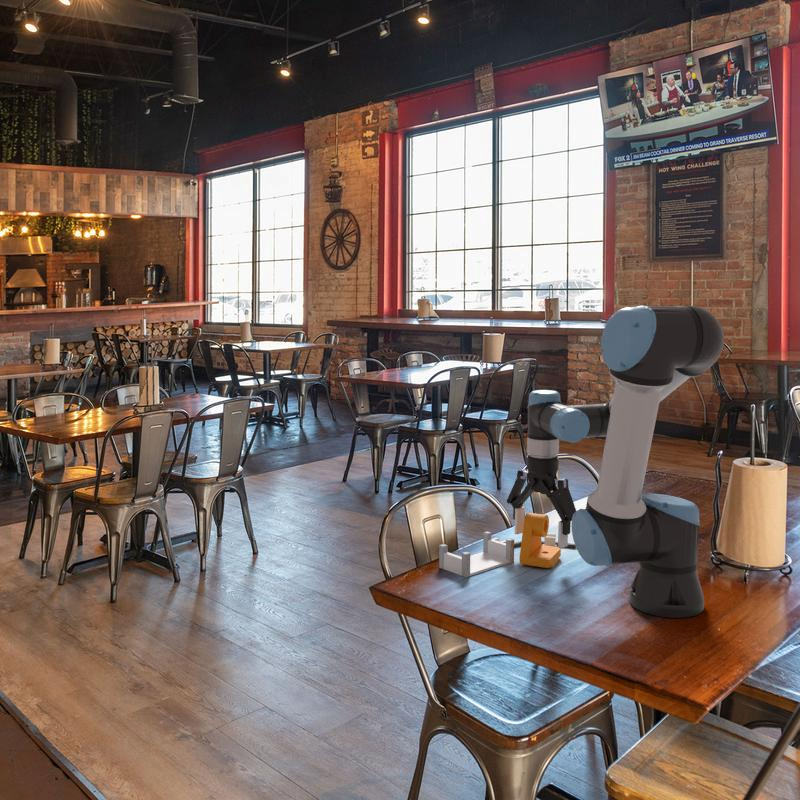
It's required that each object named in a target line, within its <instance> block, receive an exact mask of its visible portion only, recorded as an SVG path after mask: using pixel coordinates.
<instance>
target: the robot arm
mask: <svg viewBox="0 0 800 800" xmlns="http://www.w3.org/2000/svg"><path fill="white" fill-rule="evenodd" d="M600 340H601V341H600V342H601V343H600V349H601V350H602V353H601V356H602V360H603V362H604V364H605V365H606V366H607V368H608V369H609V375H610V377H611V378H613V380H614V381H615V385H614V391H613V397H612V398H611V399H610V400H608V402H606V403H593V404H576V405H573V404H572V405H566V404H562V400H561V393H560V392H559V391H557V390H551V389H549V390H548V389H537V390H532V391H531V392H530V393H528V404H527V438H526V439H527V440H526V442H527V443H526V453H527V455H526V468H523V469H519V470H517V474H516V479H515V481H514V484H513V485H512V488H511V490H510V492H509V494H508V497H507V499H506V503H507V504H508V505H511V506H512V513H513V514H512V518H513V520H514V535H519V534H523V526H524V520H525V510H526V508H525V506H524V504H525V502H527V500H528V499H529V498H530V496H532V494H533V493H540V494H541V495H545V496H546V497H547V498H548V499H549V500H550V502H551V503H552V505H553V507H554V509H555V511H556V513H557V515H558V516H559V518H560V520H559V521H558V526H557V527H558V530H557V531H558V535H557V542H558V546H557V547H558V548H560V549H563V548H566V546H568V542H569V535H570V534H571V533H572V534H571V535H572V538H573V542H574V543H573V544H575V546H576V548H575V549H576V550H577V553H578V555H579V556H580V557H581V558H582V560H583V561H584V562H585V563H586V564H588V565H590V566H592V567H593V566H594V567H599V566H601V567H602V566H603V567H604V566H606V567H610V566H613V565H621V564H630V563H638V568H637V571H636V574H635V575H634V578H633V581H632V583H631V586H630V587H629V596H628V597H629V599H628V600H629V603H630V605H631V606H632V607H633V608H635V609H636V610H638V611H641V612H642V613H645V614H649V615H652V616H656V617H663V618H671V619H672V618H673V619H678V618H679V619H682V618H683V619H684V618H690V617H695V616H698V615H700V614H701V613H703V611H704V610H705V596H704V592H703V589H702V586H701V583H700V579H699V575H698V556H699V555H698V554H699V551H698V550H699V534H700V532H699V531H700V530H699V529H700V526H701V523H700V510H699V507H698V506H697V505H696V504H695V503H694V502H693V501H690V500H688V499H685V498H682V497H678V496H674V495H673V496H672V495H668V494H661V493H660V494H659V493H646V494H643V495H642V493H643V487H644V482H645V478H646V477H645V476H646V471H647V467H648V463H649V456H650V453H651V447H652V443H653V441H652V440H653V437H654V431H655V427H656V421H657V417H658V412H659V407H660V406H659V405H660V403H661V402H662V401H663V400H664V399H666V398H667V397H668V396H669V395H670V394H672V392H674V391H676V389H677V388H679V387H680V386H682V384H684V383H685V382H686V381H688V380H689V379H690V378H696V377H699V376H701V375H703V374H704V373H705V372H706V371H708V370H709V369H710V368H711V367H712V366H713V365H714V364H715V363H716V362H717V361H718V359H719V358H720V356H721V354H722V352H723V350H724V343H725V335H724V330H723V327H722V325H721V323H720V322H719V320H718V319H717V318H716V316H715V315H714V314H712V313H711V312H710V311H708V310H706V308H702V307H700V306H696V305H667V306H666V305H665V306H664V305H663V306H660V305H659V306H657V305H656V306H654V305H651V306H650V305H648V306H647V305H638V306H637V305H636V306H630V307H629V306H628V307H624V308H623V307H622V308H620V309H619V310H617V311H616V312H615V313H614V314H612V315H611V316H610V317H609V319H608V320H607V322H606V324H605V325H604V328H603V331H602V335H601V339H600ZM601 437H605V443H604V447H603V454H602V460H601V464H600V469H599V475H598V481H597V487H596V489H595V490H593V491H591V492H590V493H589V494H588V495H587V501H586V505H585V506H586V507H585V509H584V508H579V509H578V510H577V508H576V506H575V503H574V500H573V497H572V494H571V492H570V487H569V479H568V478H566V477H565V478H562V479H561V478H558V475H557V474H558V471H559V464H560V463H559V462H560V461H559V459H560V457H559V456H558V454H559V453H560V451H559V450H560V441H562V442H568V443H578V442H580V441H582V440H583V439H587V438H588V439H589V438H601ZM527 480H528V483H527V484H526V481H527ZM525 484H526V486H525ZM524 486H525V487H524ZM523 488H524V489H523ZM522 490H523V491H522Z"/></svg>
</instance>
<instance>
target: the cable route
mask: <svg viewBox="0 0 800 800" xmlns="http://www.w3.org/2000/svg"><path fill="white" fill-rule="evenodd" d="M556 534H557V533H550V532H548V533H547V535H546V537H543V538H544V540H541V541H542V545H547V546H554V547H558V540H556V538H557V537H556V536H557V535H556ZM492 539H493V540H496V541H500V537H495V538H492ZM521 541H522V540H521ZM521 541H514V548H517V547H521ZM500 542H503V543H506V539H505V540H502V541H500ZM565 548H568V549H577V548H576V546H575V543H568V546H566V547H565Z"/></svg>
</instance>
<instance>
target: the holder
mask: <svg viewBox="0 0 800 800" xmlns="http://www.w3.org/2000/svg"><path fill="white" fill-rule="evenodd" d="M482 536H483V537H482V539H483V542H482V543H483V544H482V546H483V547H482V548H483V551H480V552H478V553H475V554H472V555H471V552H469V551H463V552H461V556H460V555H458V554H454V553H452V552H449V551H448V548H449V547H448V545H447V544H444V543H443V544H438V545H439V546H438V549H439V550H438V555H439V557H438V559H439V561H438V563H439V564H438V567H439V568H440V569H442V570H445V571H447V572H450V573H454V574H455V575H458V576H460V577H463V578H468V577H472V576H476V575H478V574H481V573H484V572H486V571H490V570H493V569H496V568H499V567H502V566H503V567H504V566H505V565H509V564H511V563H514V562H515V547H514V542H515V538H514V539H513V538H507V539H505V540H506V543H503V542H501V541H500V540H499V541H496V540H493V539H494V538H492V531H491V532H490V531H484V532H483V534H482Z"/></svg>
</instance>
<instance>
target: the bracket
mask: <svg viewBox="0 0 800 800" xmlns="http://www.w3.org/2000/svg"><path fill="white" fill-rule="evenodd" d="M549 527H550V517H549V516H548V515H547V514H543V513H542V514H541V513H536V512H534V513H532V512H527V513H526V515H524V526H523V533H521V546H520V550H519V561H518V563H519V564H520V565H526V566H533V567H540V568H546V569H549V568H551V569H552V568H554V566H555V565H556V564H558V562H559V561H560V559H559V558H560V557H561V552H562V550H561V549H562V548H561V549H560V548H558V546H557V547H554V546H547V545H542V541H543V540H542V538H544V537H546V535H547V533H549Z"/></svg>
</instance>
